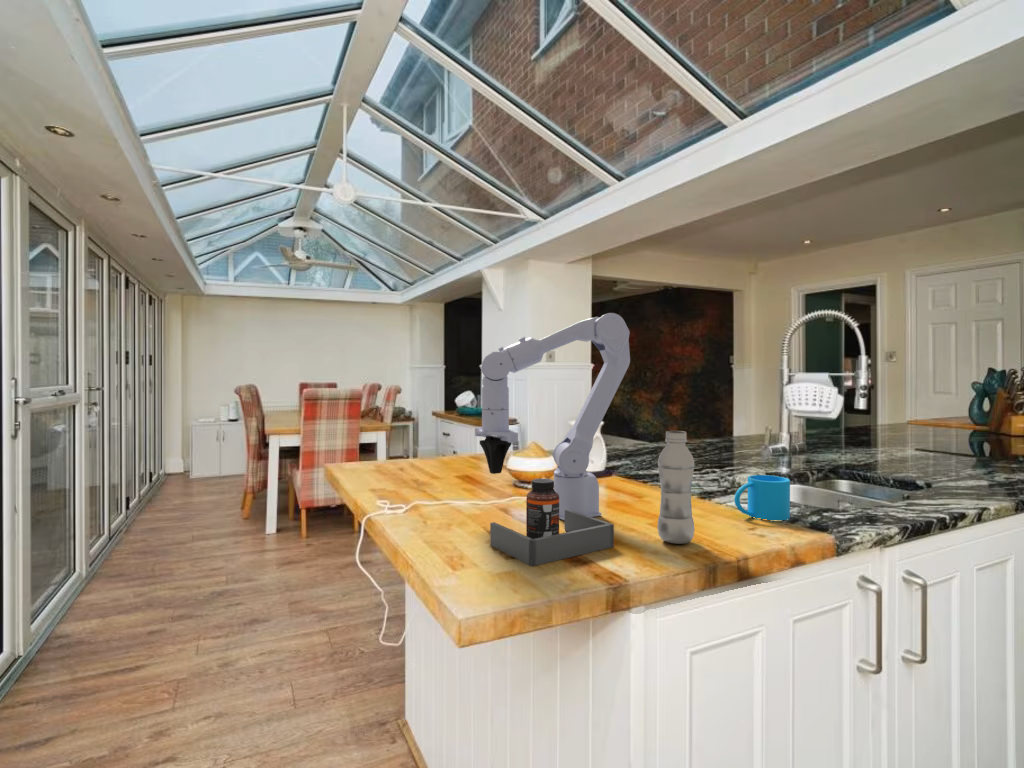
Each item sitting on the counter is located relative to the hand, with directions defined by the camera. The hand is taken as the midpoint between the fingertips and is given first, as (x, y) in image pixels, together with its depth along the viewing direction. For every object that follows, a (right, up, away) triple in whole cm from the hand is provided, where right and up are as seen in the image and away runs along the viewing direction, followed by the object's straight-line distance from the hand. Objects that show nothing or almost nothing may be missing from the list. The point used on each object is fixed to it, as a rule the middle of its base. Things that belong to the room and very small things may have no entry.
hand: (495, 473), depth 116 cm
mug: (+56, -10, 0) cm, 57 cm away
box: (+10, -10, -19) cm, 24 cm away
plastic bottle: (+33, -10, -18) cm, 39 cm away
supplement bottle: (+9, -10, -18) cm, 22 cm away
